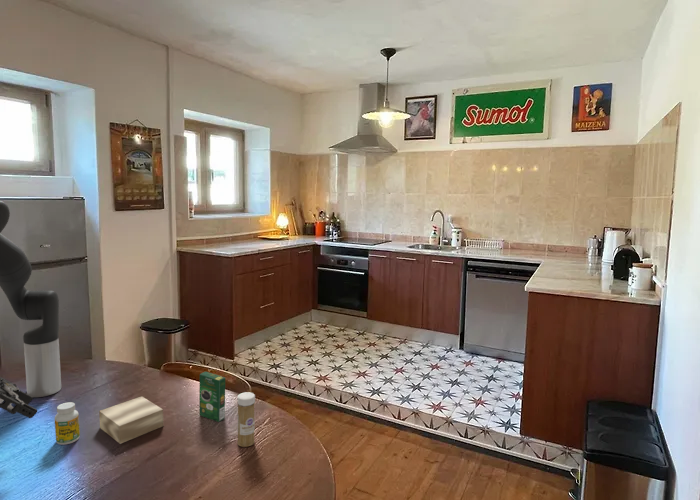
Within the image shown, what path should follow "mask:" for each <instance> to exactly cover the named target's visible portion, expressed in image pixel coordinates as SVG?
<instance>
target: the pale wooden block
mask: <svg viewBox="0 0 700 500" xmlns="http://www.w3.org/2000/svg"><path fill="white" fill-rule="evenodd" d="M98 414H99V429H100V430H102V431H103V432H104V433H106V434H107V435H108V436H110V437H111V438H112V439H113V440H115V441H116V442H117V443H118V444H120V445H121V444H123V443H125V442H128V441H130V440H133V439H135V438H138V437H140V436H143V435H145V434H147V433H150V432H153V431H155V430H157V429H160V428H162V427H164V409H163V408H162V407H160V406H159V405H157V404H155V403H153V402H152V401H150V400H148V399H147V398H145V397H144V396H142V395H141V396H139V397H136V398H133V399H130V400H127V401H123V402H121V403H118V404H116V405H112V406H109V407H107V408H103V409H101V410H99V411H98Z"/></svg>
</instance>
